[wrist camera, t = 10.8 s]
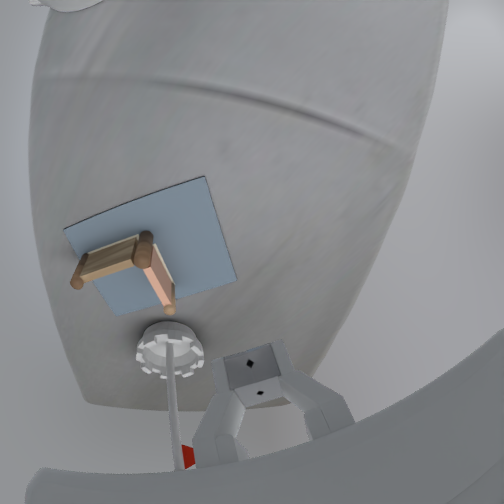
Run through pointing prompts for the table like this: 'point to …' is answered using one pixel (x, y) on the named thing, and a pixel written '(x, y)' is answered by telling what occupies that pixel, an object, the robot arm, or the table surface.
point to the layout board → (159, 244)
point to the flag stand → (171, 372)
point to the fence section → (161, 283)
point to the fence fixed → (114, 259)
